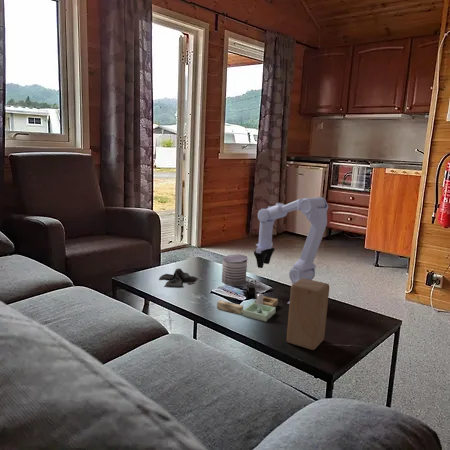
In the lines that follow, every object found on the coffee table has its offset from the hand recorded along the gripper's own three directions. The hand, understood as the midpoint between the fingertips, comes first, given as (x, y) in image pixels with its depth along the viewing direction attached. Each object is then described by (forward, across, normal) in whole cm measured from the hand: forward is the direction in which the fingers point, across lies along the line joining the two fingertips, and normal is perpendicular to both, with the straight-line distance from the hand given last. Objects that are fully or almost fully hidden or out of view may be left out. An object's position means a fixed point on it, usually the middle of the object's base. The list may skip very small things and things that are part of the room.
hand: (263, 265), depth 185 cm
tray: (+10, +28, +10) cm, 32 cm away
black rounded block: (+11, +11, -1) cm, 16 cm away
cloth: (+11, +12, -35) cm, 39 cm away
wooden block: (+11, +40, +32) cm, 52 cm away
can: (+11, 0, -14) cm, 18 cm away
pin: (+10, +28, +10) cm, 31 cm away
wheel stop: (+10, +31, 0) cm, 33 cm away
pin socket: (+10, +18, +10) cm, 23 cm away
